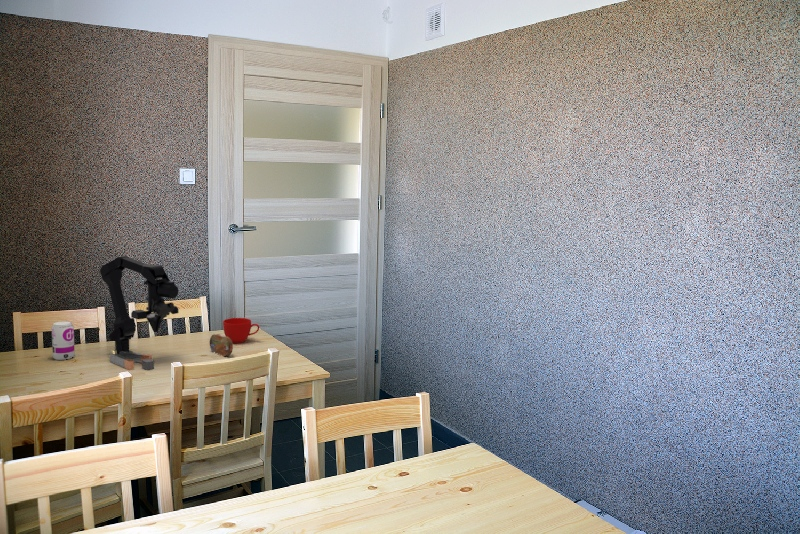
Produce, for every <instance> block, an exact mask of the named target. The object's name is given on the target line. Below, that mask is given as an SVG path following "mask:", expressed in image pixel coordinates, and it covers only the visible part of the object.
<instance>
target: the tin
mask: <svg viewBox="0 0 800 534" xmlns="http://www.w3.org/2000/svg"><path fill="white" fill-rule="evenodd" d="M233 347H234V343H232V340H231V339H230V338H229V337H226V336H225V335H222V334H215V333H213V334H212V335H211V336H210V339H209V348H210V350H211V351H212V353H213V352H215V353H214V354H216V353H218V354H217V355H219V354H220V355H219V356H221V355H222V357H227V356H230V355H232V353H233Z"/></svg>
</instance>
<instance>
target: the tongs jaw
mask: <svg viewBox="0 0 800 534" xmlns="http://www.w3.org/2000/svg"><path fill="white" fill-rule="evenodd" d="M119 355H121V356H123V357H126V358H128V359H131V360H133V361H134V363H140V364H142V360H146V359H150V360H153V354H147V353H141V352H140V353H139V352H134V351H133V352H124V351H121V352H119Z"/></svg>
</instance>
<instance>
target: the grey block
mask: <svg viewBox="0 0 800 534" xmlns="http://www.w3.org/2000/svg"><path fill="white" fill-rule="evenodd" d="M141 368H142V369H144V370H146V371H149V370H153V369H155V361H154V360H153V359H152V360H150V359H146V360H142V363H141Z"/></svg>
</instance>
